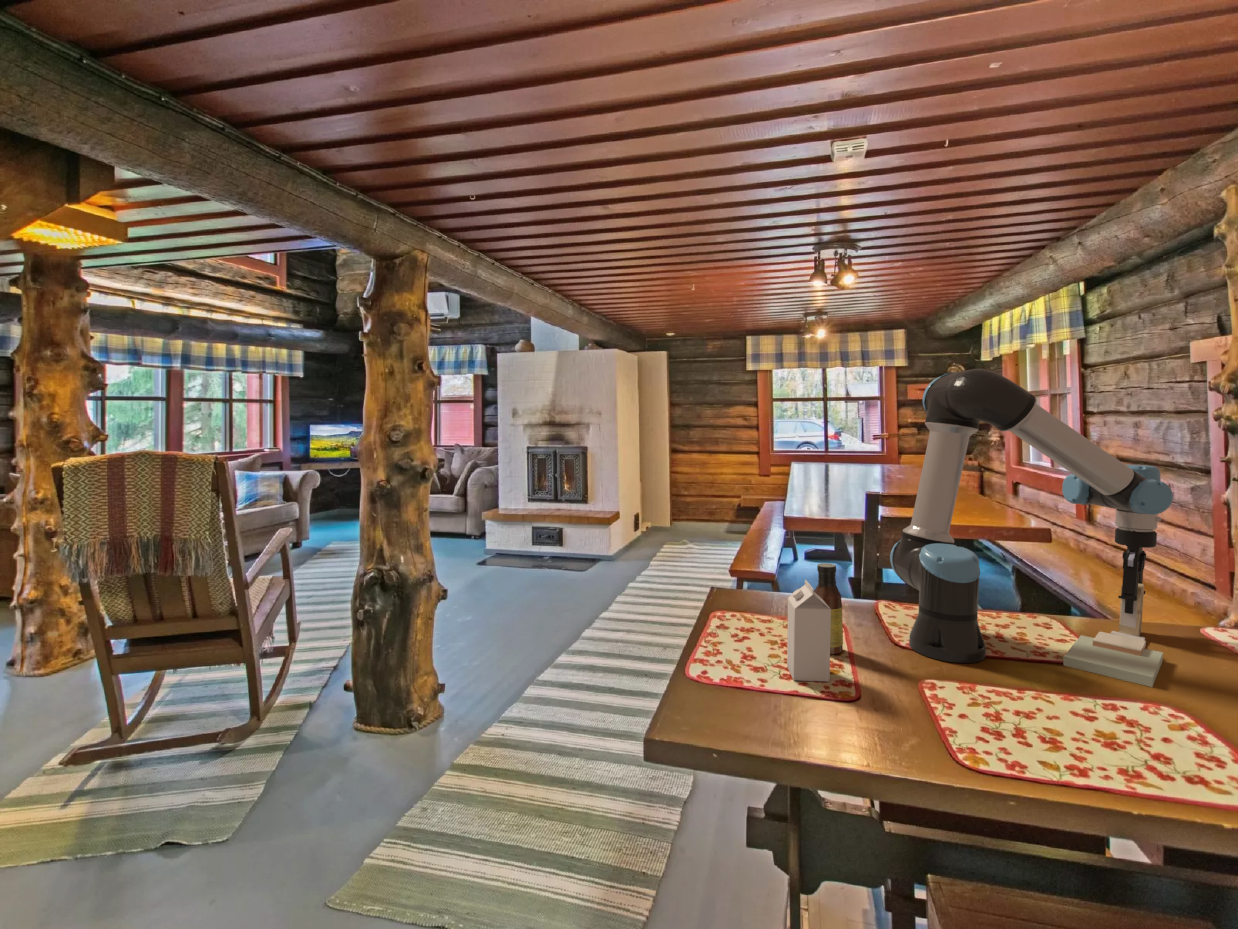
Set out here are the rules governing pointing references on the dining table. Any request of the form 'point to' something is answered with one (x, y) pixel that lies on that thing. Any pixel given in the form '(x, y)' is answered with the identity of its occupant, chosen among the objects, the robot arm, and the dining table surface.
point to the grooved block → (1114, 662)
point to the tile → (1119, 643)
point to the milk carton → (808, 636)
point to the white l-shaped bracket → (1132, 631)
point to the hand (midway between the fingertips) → (1130, 622)
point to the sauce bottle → (831, 603)
